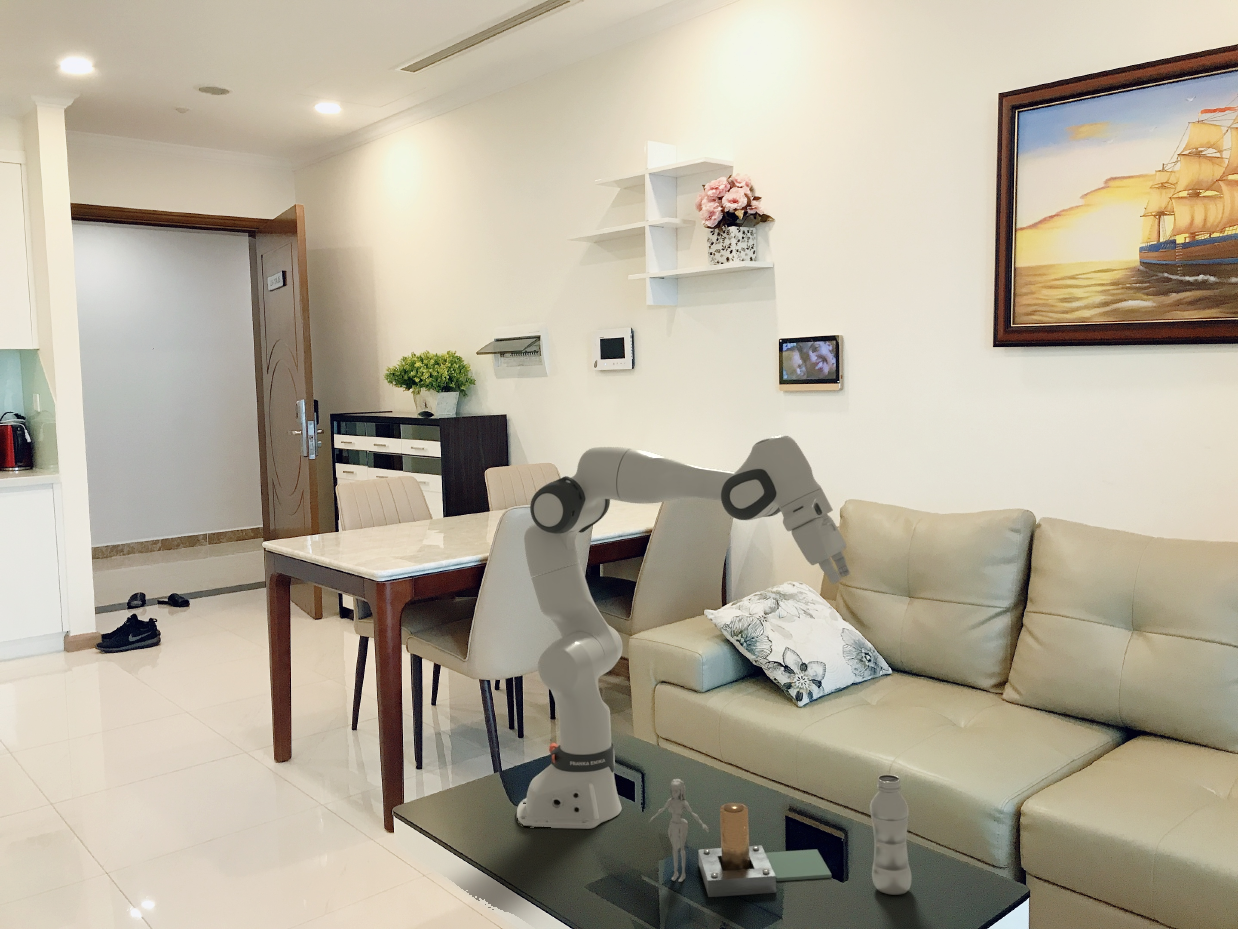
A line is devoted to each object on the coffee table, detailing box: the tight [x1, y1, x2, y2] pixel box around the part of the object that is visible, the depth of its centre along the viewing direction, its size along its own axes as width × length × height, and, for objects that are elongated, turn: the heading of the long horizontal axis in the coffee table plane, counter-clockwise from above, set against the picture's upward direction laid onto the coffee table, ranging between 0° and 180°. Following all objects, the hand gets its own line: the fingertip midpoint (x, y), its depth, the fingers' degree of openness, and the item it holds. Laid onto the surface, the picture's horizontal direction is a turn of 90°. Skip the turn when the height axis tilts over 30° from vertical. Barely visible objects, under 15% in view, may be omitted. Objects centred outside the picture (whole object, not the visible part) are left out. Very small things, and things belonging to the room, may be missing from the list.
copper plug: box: [719, 802, 750, 871], centre depth 175 cm, size 5×5×13 cm
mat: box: [765, 848, 832, 882], centre depth 179 cm, size 10×10×1 cm
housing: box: [697, 845, 777, 898], centre depth 175 cm, size 12×12×3 cm
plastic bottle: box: [869, 774, 913, 896], centre depth 168 cm, size 6×7×20 cm
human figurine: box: [647, 778, 710, 883], centre depth 176 cm, size 12×4×18 cm, turn 63°
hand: (841, 579), depth 181 cm, fingers open, 8 cm apart
